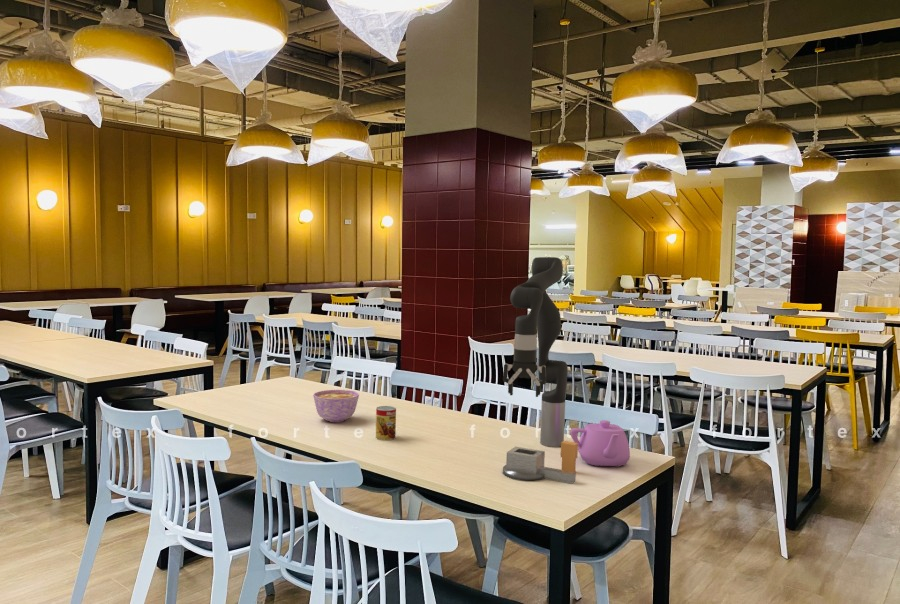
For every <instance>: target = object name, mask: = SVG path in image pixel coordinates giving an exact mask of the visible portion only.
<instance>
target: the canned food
mask: <svg viewBox="0 0 900 604" xmlns="http://www.w3.org/2000/svg"><path fill="white" fill-rule="evenodd" d="M375 409H376V411H375V412H376V413H375V439H376V438H377V440H379V439H381V440H380V441H392V440H395V439H396V434H397V432H396V429H397V428H396V427H397V425H396V424H397V407H396V406H393V405H380V406H377V407H376V408H375ZM394 438H395V439H394Z"/></svg>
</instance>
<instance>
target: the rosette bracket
mask: <svg viewBox="0 0 900 604" xmlns="http://www.w3.org/2000/svg"><path fill="white" fill-rule="evenodd" d="M545 453H546V451H545V450H539V449H532V448H526V447H520V446H514V447H513V448H511V449H510V450H508V451H506V457H505V458H506V462H505V463H506V464H505V465H503V467H502V474H503V475H504V477H506V476H507V477H506V478H508V477H509V479H510V480H511V479H512V480H516V481H521V482H523V481H524V482H536V481H537V482H538V481H543V480H544V479H545V480H548V481H549V480H550V481H553V482H554V481H555V482H561V483H566V484H571V485H573V484H574V483H576V480H577V472H576V471H575V472H571V471H565V470H562V469H559V468H554V467H553V468H552V467H548V466H545V458H546V457H545Z"/></svg>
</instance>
